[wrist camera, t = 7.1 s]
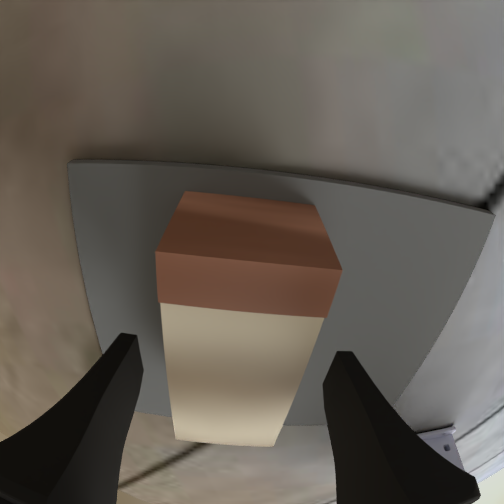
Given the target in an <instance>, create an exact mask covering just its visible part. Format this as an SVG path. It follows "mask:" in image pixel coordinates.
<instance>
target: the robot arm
mask: <svg viewBox="0 0 504 504" xmlns="http://www.w3.org/2000/svg"><path fill="white" fill-rule="evenodd" d="M143 372H144V368H143V364H142V358H141V353H140V348H139V342H138V337H137V335H135V334H128V333H120V334H119V335H118V336H117V338H116V339H115V340H114V341H113V343H112V344H111V345H110V346H109V348H108V349H107V350H106V351H105V352H104V354H103V355H102V356H101V357H100V359H99V360H98V361H97V362H96V363H95V364H94V365H93V367H92V368H91V369H90V370H89V371H88V372H87V373H86V375H85V376H84V377H83V378H82V379H81V380H80V381H79V382H78V383H77V384H76V385H75V386H74V387H73V388H72V389H71V390H70V391H69V392H68V393H67V394H66V395H65V396H64V397H63V398H62V399H61V400H60V401H59V402H57V403H56V404H55V405H54V406H53V407H52V408H51V409H49V410H48V411H47V412H45V413H44V414H43V415H42V416H40V417H39V418H38V419H37V420H35V421H34V422H32V423H31V424H30V425H28V426H26V427H25V428H23V429H22V430H20V431H19V432H17V433H16V434H14V435H12V436H11V437H9V438H7V439H5V440H3V441H1V442H0V504H116V501H117V489H118V480H119V472H120V465H121V459H122V453H123V448H124V444H125V440H126V437H127V433H128V430H129V427H130V423H131V420H132V417H133V414H134V410H135V407H136V404H137V400H138V397H139V394H140V388H141V383H142V378H143ZM322 386H323V400H324V410H325V415H326V420H327V425H328V430H329V435H330V440H331V445H332V450H333V455H334V462H335V473H336V493H337V504H472V503H473V502H475V501H477V500H478V499H479V498H480V496H481V495H480V491H479V488H478V485H477V482H476V479H475V477H474V476H472V475H470V474H469V473H467V472H465V470H464V467H463V464H462V461H461V459H460V456H459V453H458V450H457V447H456V444H455V442H454V439H453V436H452V434H453V433H454V432H455V431H456V428H455V427H454V426H453V427H449V428H444V429H440V430H435V431H430V432H425V433H420V434H416V433H415V432H414V431H413V430H412V429H411V428H410V427H409V426H408V425H407V424H406V423H405V422H404V421H403V419H402V418H401V417H400V416H399V415H398V414H397V412H396V411H395V410H394V409H393V407H392V406H391V405H390V404H389V402H388V401H387V400H386V399H385V397H384V396H383V394H382V393H381V392H380V390H379V389H378V388H377V386H376V385H375V384H374V382H373V381H372V379H371V378H370V376H369V375H368V373H367V372H366V371H365V369H364V368H363V366H362V365H361V363H360V362H359V360H358V359H357V357H356V356H355V354H354V353H353V352H352V351H337V352H336V354H335V356H334V359H333V361H332V363H331V366H330V368H329V370H328V373H327V375H326V377H325V379H324V382H323V384H322Z"/></svg>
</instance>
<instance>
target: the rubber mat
mask: <svg viewBox="0 0 504 504" xmlns="http://www.w3.org/2000/svg"><path fill="white" fill-rule="evenodd" d="M67 168H68V180H69V190H70V199H71V207H72V215H73V222H74V229H75V236H76V242H77V248H78V253H79V259H80V264H81V269H82V274H83V279H84V284H85V288H86V293H87V297H88V302H89V306H90V310H91V314H92V318H93V322H94V325H95V329H96V333H97V336H98V340H99V343H100V347H101V350H102V353H103V354H104V352H105V351H106V350H107V349H108V348H109V346H110V345H111V344H112V343H113V341H114V340H115V339H116V338H117V336H118V335H119V334H120V333H128V334H135V335H137V337H138V342H139V348H140V353H141V358H142V364H143V368H144V372H143V378H142V383H141V388H140V394H139V397H138V400H137V404H136V407H135V410H134V411H137V412H143V413H149V414H155V415H161V416H168V417H172V411H171V404H170V396H169V389H168V380H167V372H166V363H165V353H164V342H163V331H162V319H161V305H160V303H159V302H158V294H157V277H156V256H155V251H156V249H157V247H158V245H159V243H160V240H161V238H162V236H163V234H164V232H165V230H166V228H167V226H168V224H169V222H170V220H171V218H172V216H173V214H174V212H175V210H176V208H177V206H178V204H179V202H180V200H181V198H182V196H183V194H184V192H185V191H191V192H202V193H213V194H223V195H233V196H242V197H252V198H260V199H269V200H277V201H286V202H294V203H301V204H309V205H315V207H316V209H317V211H318V213H319V216H320V218H321V220H322V222H323V225H324V227H325V229H326V232H327V234H328V236H329V238H330V241H331V243H332V246H333V248H334V250H335V253H336V255H337V257H338V260H339V262H340V265H341V267H342V270H343V271H342V274H341V277H340V280H339V284H338V287H337V290H336V293H335V296H334V299H333V302H332V304H331V307H330V310H329V313H328V316H327V318H324V320H323V323H322V326H321V329H320V332H319V334H318V337H317V340H316V343H315V345H314V348H313V351H312V354H311V356H310V359H309V362H308V364H307V367H306V369H305V372H304V375H303V377H302V380H301V382H300V385H299V387H298V390H297V392H296V395H295V397H294V400H293V402H292V404H291V407H290V409H289V412H288V414H287V416H286V419H285V421H284V423H283V425H327V420H326V415H325V410H324V400H323V386H322V384H323V382H324V379H325V377H326V375H327V373H328V370H329V368H330V366H331V363H332V361H333V359H334V356H335V354H336V352H337V351H352V352H353V353H354V354H355V356H356V357H357V359H358V360H359V362H360V363H361V365H362V366H363V368H364V369H365V371H366V372H367V373H368V375H369V376H370V378H371V379H372V381H373V382H374V384H375V385H376V386H377V388H378V389H379V390H380V392H381V393H382V394H383V396H384V397H385V399H386V400H387V401H388V402H389V404H390V405H391V406H393V405H394V403H395V402H396V401H397V399H398V398H399V396H400V395H401V394H402V392H403V391H404V389H405V388H406V387H407V385H408V384H409V382H410V381H411V379H412V378H413V376H414V375H415V373H416V372H417V370H418V369H419V367H420V366H421V364H422V363H423V361H424V360H425V358H426V356H427V355H428V353H429V352H430V350H431V348H432V347H433V345H434V343H435V342H436V340H437V338H438V337H439V335H440V333H441V331H442V330H443V328H444V326H445V324H446V323H447V321H448V319H449V317H450V315H451V314H452V312H453V310H454V308H455V306H456V304H457V302H458V300H459V298H460V296H461V294H462V292H463V290H464V288H465V286H466V284H467V282H468V280H469V278H470V276H471V274H472V272H473V269H474V267H475V265H476V263H477V261H478V258H479V256H480V254H481V251H482V249H483V247H484V244H485V242H486V239H487V237H488V234H489V232H490V229H491V227H492V224H493V221H494V218H495V216H496V215H494V214H493V213H492V212H491V211H488V210H485V209H481V208H477V207H473V206H469V205H465V204H460V203H456V202H452V201H447V200H443V199H438V198H434V197H429V196H425V195H420V194H415V193H410V192H405V191H400V190H395V189H389V188H384V187H378V186H373V185H367V184H361V183H355V182H349V181H343V180H336V179H330V178H323V177H316V176H309V175H301V174H294V173H286V172H278V171H269V170H260V169H250V168H240V167H230V166H218V165H206V164H192V163H177V162H158V161H134V160H72V161H70V162H69V163H67Z"/></svg>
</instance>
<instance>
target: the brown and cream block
mask: <svg viewBox="0 0 504 504" xmlns="http://www.w3.org/2000/svg"><path fill="white" fill-rule="evenodd" d="M155 256H156V277H157V294H158V302H159V303H160V305H161V319H162V331H163V342H164V353H165V363H166V372H167V380H168V389H169V396H170V404H171V411H172V418H173V425H174V431H175V438H176V439H178V440H186V441H194V442H203V443H213V444H225V445H240V446H263V447H273V446H274V444H275V441H276V439H277V437H278V435H279V432H280V430H281V428H282V426H283V423H284V421H285V419H286V416H287V414H288V412H289V409H290V407H291V404H292V402H293V400H294V397H295V395H296V392H297V390H298V387H299V385H300V382H301V380H302V377H303V375H304V372H305V369H306V367H307V364H308V362H309V359H310V356H311V354H312V351H313V348H314V345H315V343H316V340H317V337H318V334H319V332H320V329H321V326H322V323H323V320H324V318H327V316H328V313H329V310H330V307H331V304H332V302H333V299H334V296H335V293H336V290H337V287H338V284H339V280H340V277H341V274H342V271H343V270H342V267H341V265H340V262H339V260H338V257H337V255H336V253H335V250H334V248H333V246H332V243H331V241H330V238H329V236H328V234H327V232H326V229H325V227H324V225H323V222H322V220H321V218H320V216H319V213H318V211H317V209H316V207H315V205H309V204H301V203H294V202H286V201H277V200H269V199H260V198H252V197H242V196H233V195H223V194H213V193H202V192H191V191H185V192H184V194H183V196H182V198H181V200H180V202H179V204H178V206H177V208H176V210H175V212H174V214H173V216H172V218H171V220H170V222H169V224H168V226H167V228H166V230H165V232H164V234H163V236H162V238H161V240H160V243H159V245H158V247H157V249H156V251H155Z"/></svg>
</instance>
